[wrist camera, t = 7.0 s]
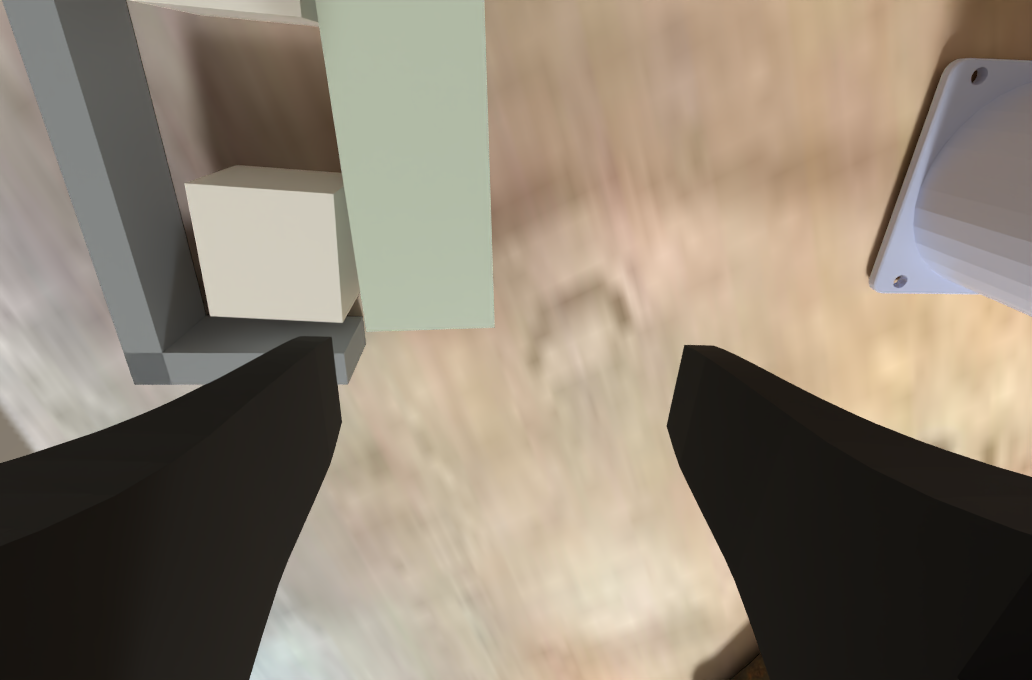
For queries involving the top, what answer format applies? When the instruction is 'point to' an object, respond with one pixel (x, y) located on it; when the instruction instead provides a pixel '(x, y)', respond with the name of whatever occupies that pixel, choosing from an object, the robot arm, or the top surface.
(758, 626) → the robot arm
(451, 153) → the sage green beam
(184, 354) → the grey frame
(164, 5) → the block
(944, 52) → the top surface
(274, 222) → the block
